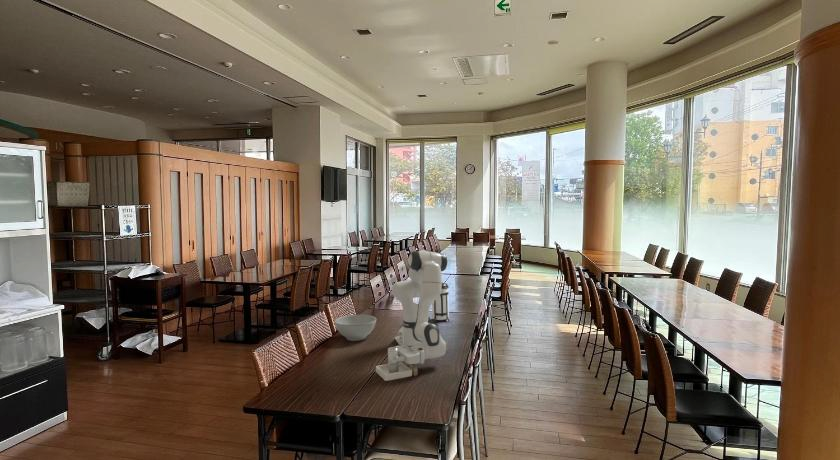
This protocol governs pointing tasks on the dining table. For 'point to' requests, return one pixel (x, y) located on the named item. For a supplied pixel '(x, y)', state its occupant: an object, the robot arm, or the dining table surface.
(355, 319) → the decorative bowl
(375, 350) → the dining table surface
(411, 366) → the tan wavy block
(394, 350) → the steel canister
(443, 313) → the coffee press
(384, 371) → the tray
